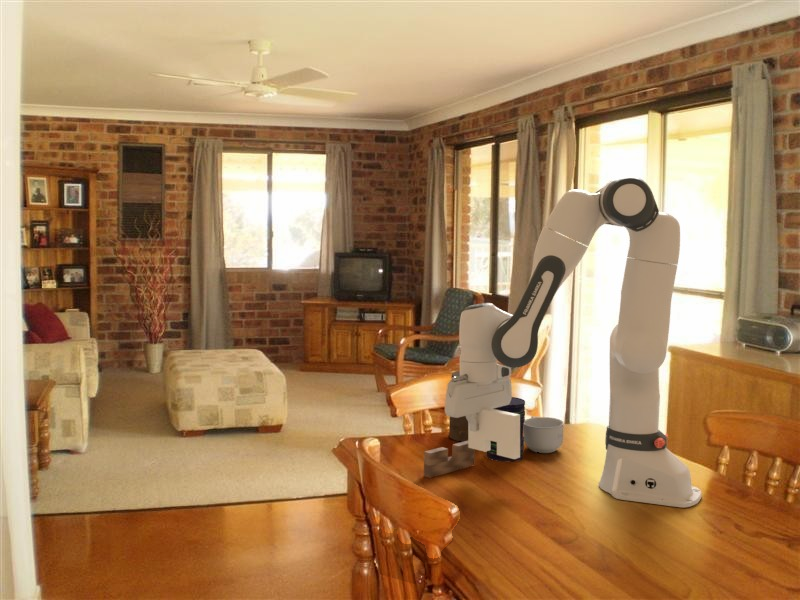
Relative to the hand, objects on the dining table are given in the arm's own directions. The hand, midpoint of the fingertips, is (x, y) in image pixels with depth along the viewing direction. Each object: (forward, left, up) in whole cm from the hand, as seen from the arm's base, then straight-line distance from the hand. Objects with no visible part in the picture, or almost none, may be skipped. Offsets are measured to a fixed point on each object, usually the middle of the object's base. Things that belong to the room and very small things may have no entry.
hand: (479, 429), depth 194 cm
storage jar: (+2, -20, -12) cm, 24 cm away
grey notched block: (+8, -1, -12) cm, 15 cm away
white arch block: (-4, +1, -5) cm, 6 cm away
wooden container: (+17, -33, -12) cm, 40 cm away
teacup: (-3, -33, -12) cm, 36 cm away
